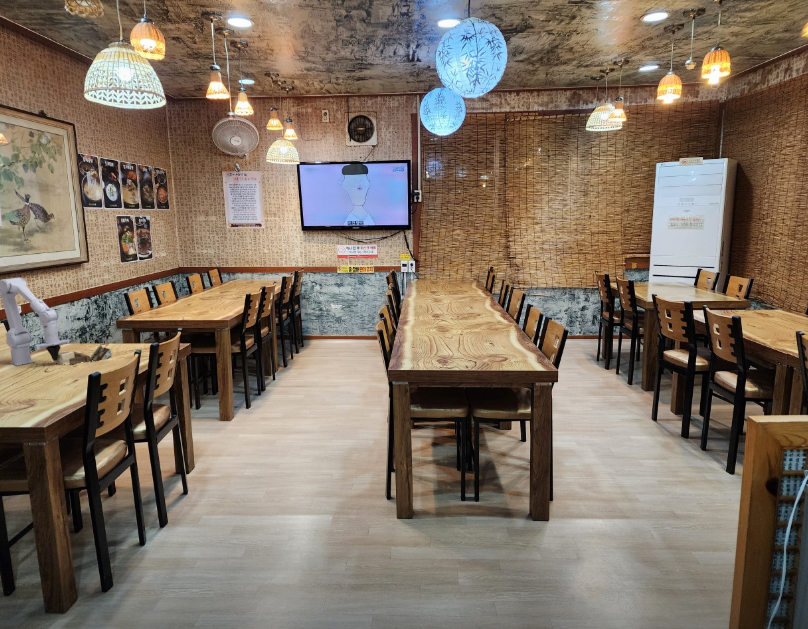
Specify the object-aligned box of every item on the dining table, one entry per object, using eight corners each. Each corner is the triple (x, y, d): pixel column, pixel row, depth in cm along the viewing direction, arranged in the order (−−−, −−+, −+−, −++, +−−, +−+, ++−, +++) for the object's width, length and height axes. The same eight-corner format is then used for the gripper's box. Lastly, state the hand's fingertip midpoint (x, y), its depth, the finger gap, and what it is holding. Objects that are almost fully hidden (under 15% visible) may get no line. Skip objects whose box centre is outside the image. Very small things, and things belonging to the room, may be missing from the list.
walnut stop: (57, 360, 272) (56, 354, 271) (74, 356, 278) (74, 351, 278) (72, 365, 261) (71, 359, 261) (90, 361, 268) (89, 355, 268)
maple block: (54, 363, 266) (52, 353, 265) (65, 360, 272) (64, 351, 271) (63, 364, 263) (62, 355, 262) (75, 361, 268) (74, 352, 267)
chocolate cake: (102, 363, 267) (113, 343, 274) (88, 359, 266) (99, 340, 273) (106, 371, 275) (117, 351, 282) (92, 367, 274) (103, 348, 281)
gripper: (37, 337, 252) (41, 364, 255) (70, 332, 264) (74, 358, 266) (32, 336, 256) (36, 362, 259) (64, 330, 268) (68, 356, 270)
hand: (55, 360), depth 263 cm, fingers closed
